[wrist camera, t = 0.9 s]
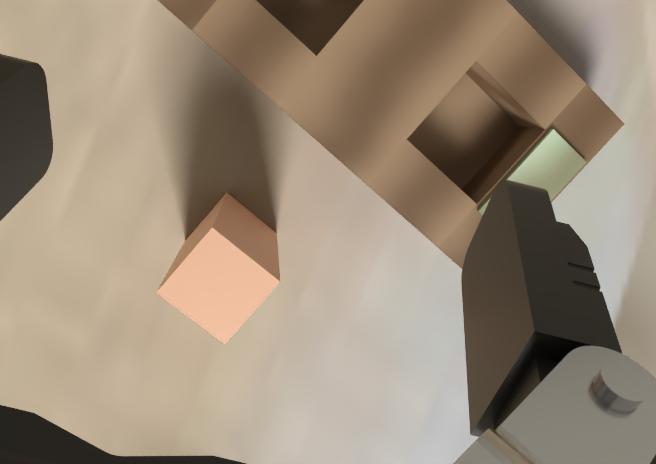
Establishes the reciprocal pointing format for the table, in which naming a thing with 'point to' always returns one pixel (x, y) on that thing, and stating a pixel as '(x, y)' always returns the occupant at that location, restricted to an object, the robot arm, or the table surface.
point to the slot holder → (417, 97)
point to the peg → (223, 269)
